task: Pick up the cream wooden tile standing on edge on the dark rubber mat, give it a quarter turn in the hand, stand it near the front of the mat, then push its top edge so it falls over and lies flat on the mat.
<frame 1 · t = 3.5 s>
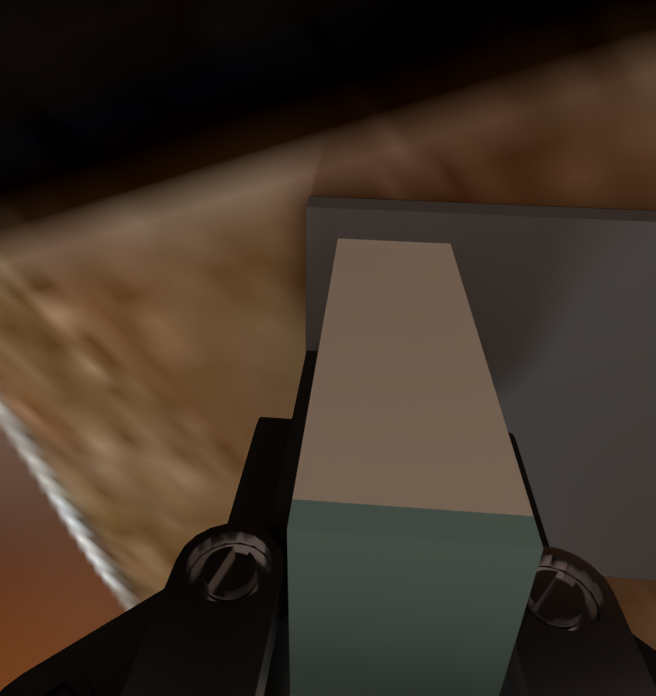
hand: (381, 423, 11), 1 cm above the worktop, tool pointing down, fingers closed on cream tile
cream tile: (379, 416, 11), point 1 cm above the worktop, touching gripper
rubber mat: (562, 409, 11), on the worktop
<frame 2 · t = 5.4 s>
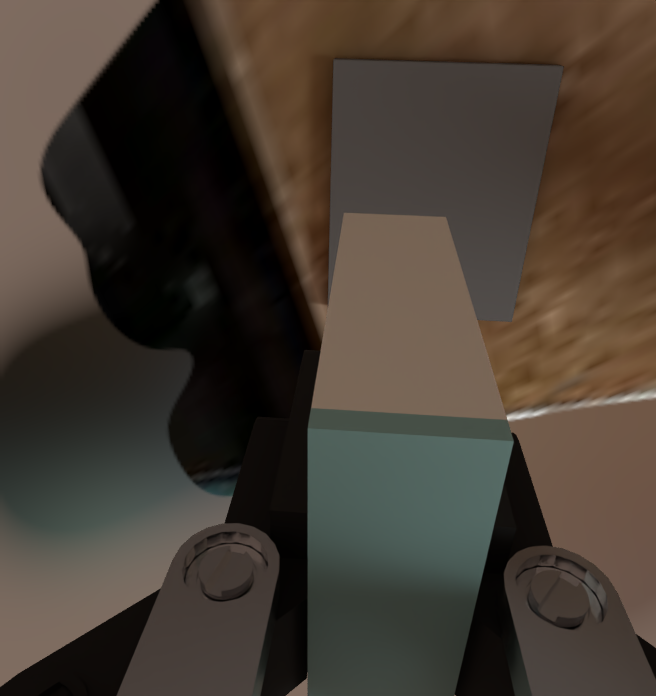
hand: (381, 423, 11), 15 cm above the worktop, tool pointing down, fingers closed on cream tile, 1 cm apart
cream tile: (381, 378, 12), point 13 cm above the worktop, touching gripper
rubber mat: (430, 199, 23), on the worktop
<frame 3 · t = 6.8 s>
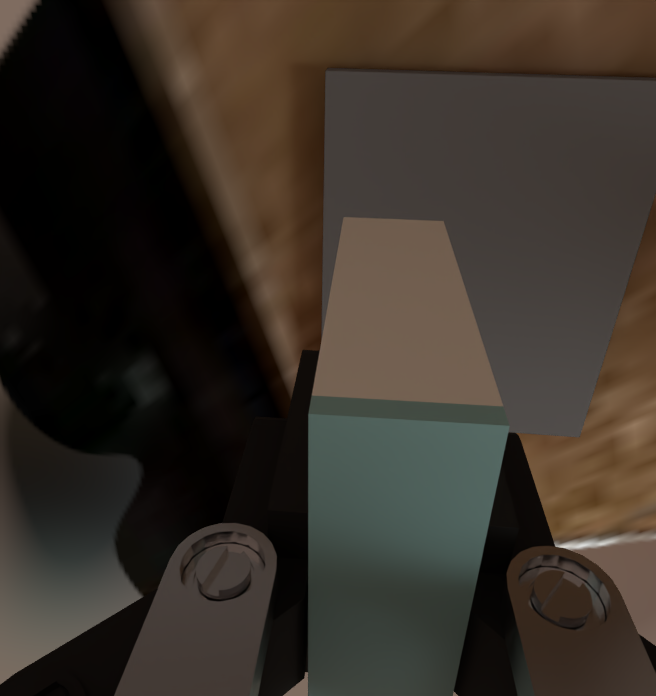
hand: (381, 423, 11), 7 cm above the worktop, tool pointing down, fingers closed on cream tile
cream tile: (381, 382, 12), point 5 cm above the worktop, touching gripper
rubber mat: (468, 272, 16), on the worktop
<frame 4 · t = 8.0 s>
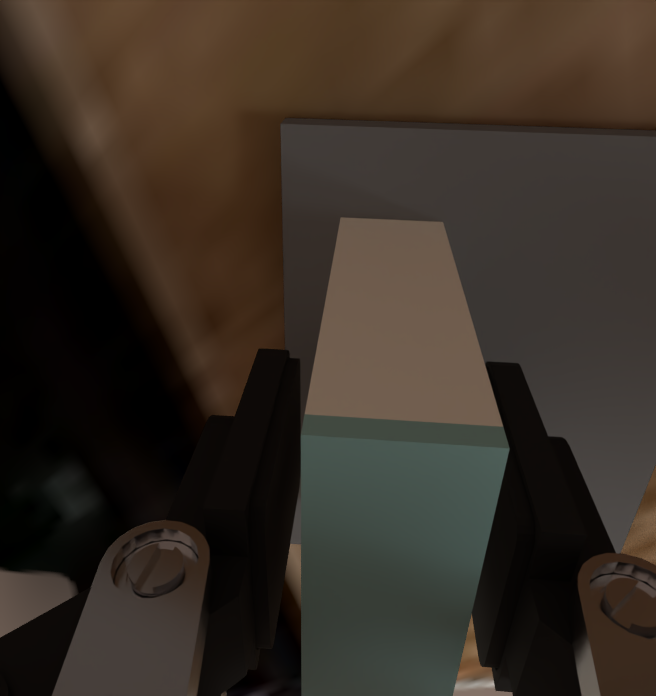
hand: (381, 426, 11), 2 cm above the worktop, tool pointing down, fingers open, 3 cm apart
cream tile: (378, 384, 12), point 1 cm above the worktop, touching rubber mat
rubber mat: (475, 372, 12), on the worktop
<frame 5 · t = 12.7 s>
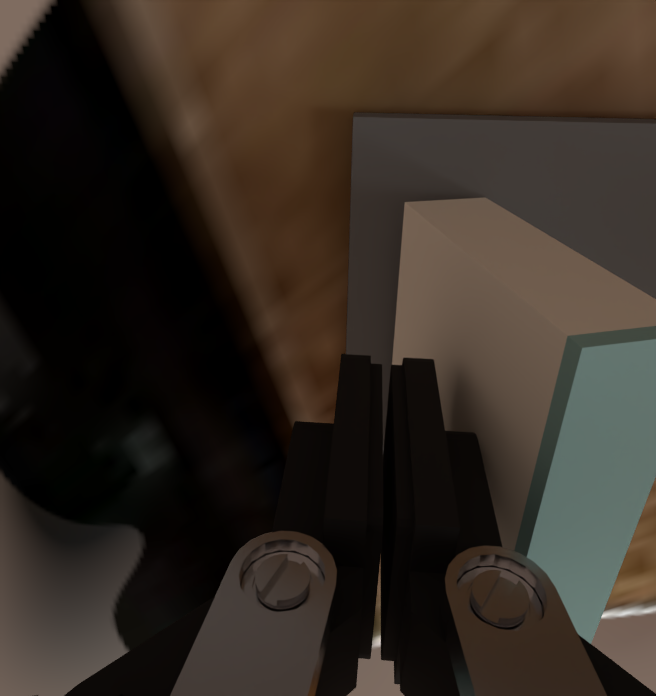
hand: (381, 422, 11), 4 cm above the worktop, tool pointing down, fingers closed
cream tile: (429, 345, 14), point 1 cm above the worktop, tilted 17°, touching rubber mat
rubber mat: (508, 330, 15), on the worktop
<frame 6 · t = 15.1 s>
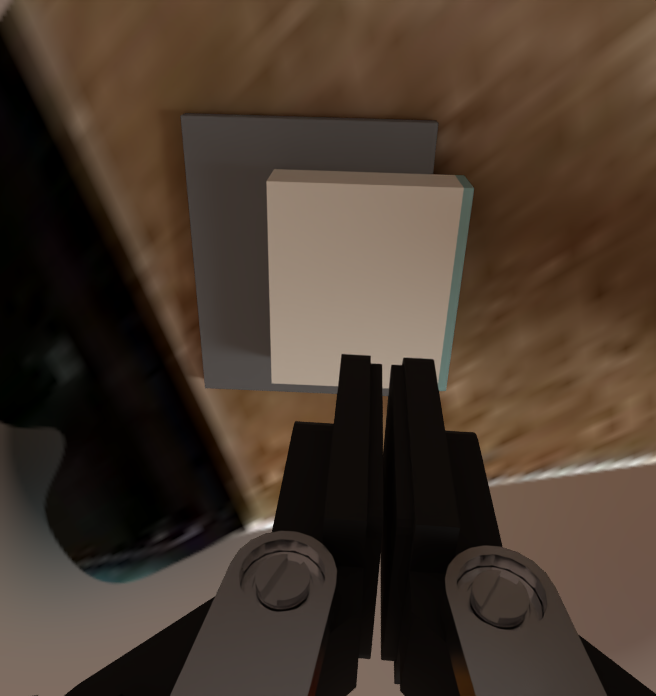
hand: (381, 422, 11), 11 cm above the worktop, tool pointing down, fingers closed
cream tile: (272, 280, 20), point 1 cm above the worktop, tilted 90°, touching rubber mat
rubber mat: (308, 265, 21), on the worktop
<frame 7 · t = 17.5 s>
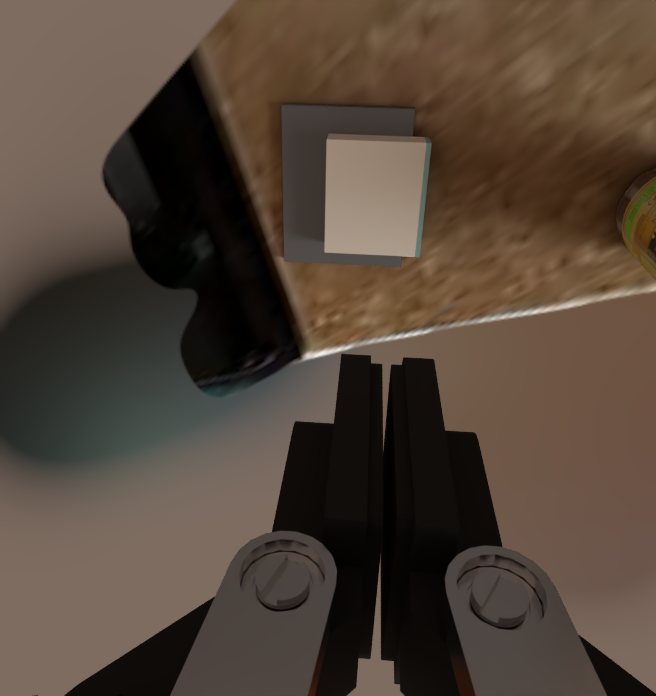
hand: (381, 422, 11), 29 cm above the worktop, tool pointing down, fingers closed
cream tile: (326, 194, 37), point 1 cm above the worktop, tilted 90°, touching rubber mat
rubber mat: (345, 188, 38), on the worktop
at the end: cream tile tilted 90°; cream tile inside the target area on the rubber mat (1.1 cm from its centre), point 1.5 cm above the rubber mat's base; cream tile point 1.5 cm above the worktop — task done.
